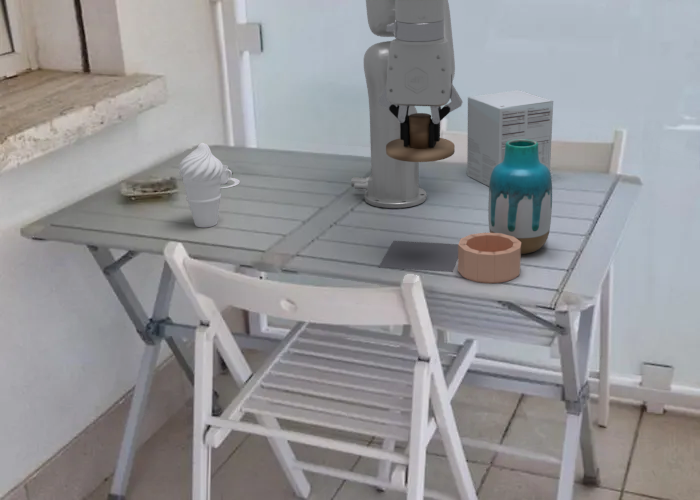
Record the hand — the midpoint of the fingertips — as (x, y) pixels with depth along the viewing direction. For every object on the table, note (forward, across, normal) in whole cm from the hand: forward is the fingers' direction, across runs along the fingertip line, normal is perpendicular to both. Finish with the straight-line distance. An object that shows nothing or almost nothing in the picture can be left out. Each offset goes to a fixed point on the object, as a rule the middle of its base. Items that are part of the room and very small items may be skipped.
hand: (420, 143), depth 154 cm
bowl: (+20, +12, -6) cm, 24 cm away
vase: (+20, +16, +5) cm, 26 cm away
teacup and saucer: (+22, -52, +38) cm, 68 cm away
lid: (+1, 0, 0) cm, 1 cm away
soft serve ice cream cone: (+21, -44, +10) cm, 49 cm away
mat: (+20, 0, -1) cm, 20 cm away
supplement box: (+22, +10, +47) cm, 52 cm away
